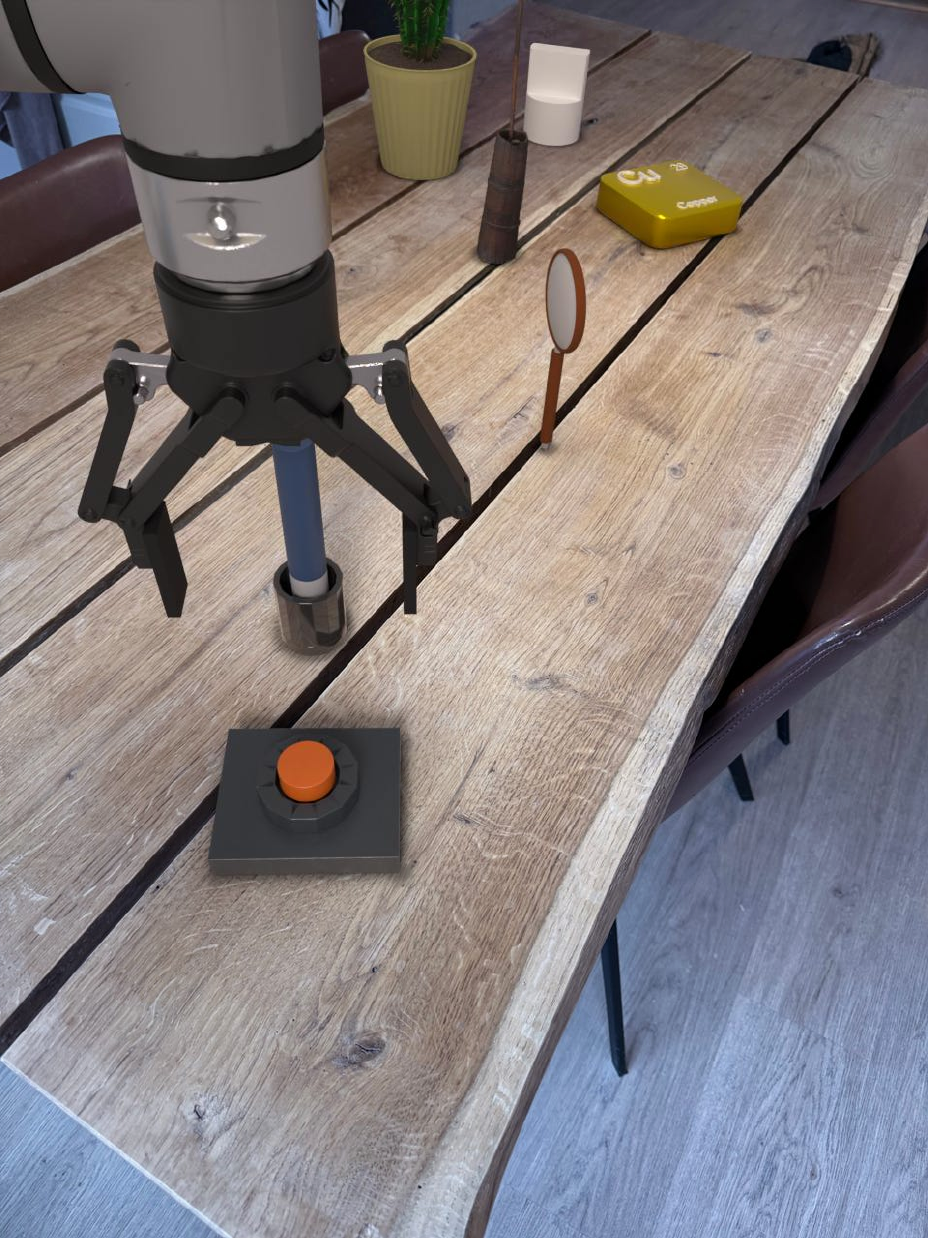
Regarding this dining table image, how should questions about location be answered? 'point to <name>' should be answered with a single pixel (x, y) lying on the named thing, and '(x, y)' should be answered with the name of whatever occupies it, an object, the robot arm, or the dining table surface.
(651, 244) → the element tile
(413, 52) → the potted cactus
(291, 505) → the pen
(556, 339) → the magnifying glass
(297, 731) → the station
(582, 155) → the dining table surface
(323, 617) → the holder
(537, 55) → the base with upright slab
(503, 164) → the butter churn
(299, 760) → the button
